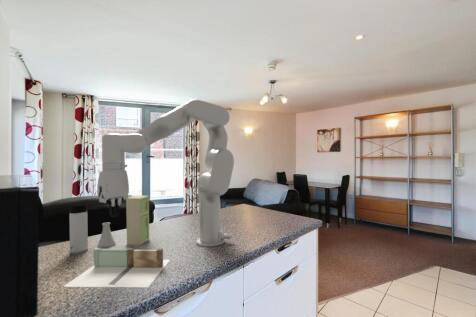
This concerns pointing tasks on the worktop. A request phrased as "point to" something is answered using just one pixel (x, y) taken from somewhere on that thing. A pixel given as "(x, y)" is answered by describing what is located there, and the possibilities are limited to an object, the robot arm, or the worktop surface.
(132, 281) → the card
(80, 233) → the travel mug
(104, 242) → the flask
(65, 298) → the worktop surface
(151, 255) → the fixed fence section
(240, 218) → the worktop surface
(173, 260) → the worktop surface
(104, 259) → the mint green long bar
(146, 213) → the toy refrigerator
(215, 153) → the robot arm
